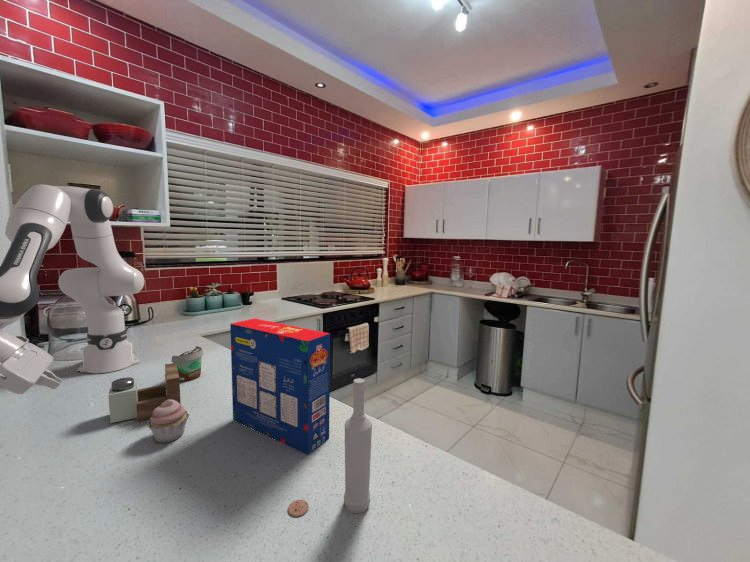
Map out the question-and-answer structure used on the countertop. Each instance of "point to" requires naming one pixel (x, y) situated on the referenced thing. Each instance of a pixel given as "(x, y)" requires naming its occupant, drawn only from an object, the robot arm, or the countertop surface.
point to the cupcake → (168, 421)
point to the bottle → (357, 454)
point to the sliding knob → (123, 399)
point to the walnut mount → (158, 393)
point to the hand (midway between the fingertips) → (58, 384)
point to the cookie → (298, 508)
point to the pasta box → (281, 382)
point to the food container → (189, 364)
